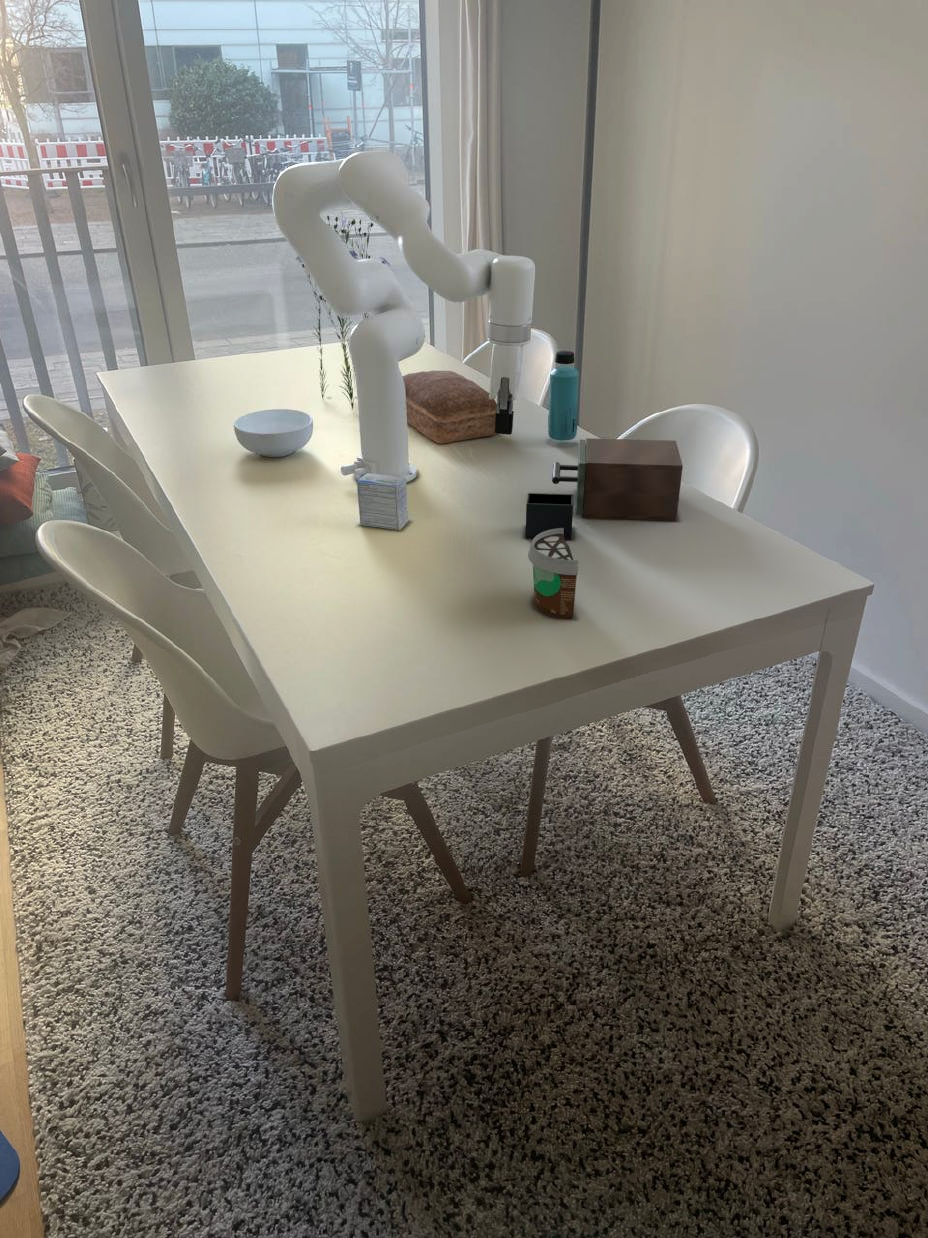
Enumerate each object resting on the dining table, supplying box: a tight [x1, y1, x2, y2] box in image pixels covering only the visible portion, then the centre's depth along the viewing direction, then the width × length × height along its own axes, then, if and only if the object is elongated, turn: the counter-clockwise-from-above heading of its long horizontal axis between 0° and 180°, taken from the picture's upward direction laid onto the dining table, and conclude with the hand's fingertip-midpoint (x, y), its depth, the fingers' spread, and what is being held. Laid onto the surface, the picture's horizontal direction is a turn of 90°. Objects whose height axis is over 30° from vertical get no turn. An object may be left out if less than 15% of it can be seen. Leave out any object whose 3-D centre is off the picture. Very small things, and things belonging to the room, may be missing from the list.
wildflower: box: [295, 212, 392, 411], centre depth 219 cm, size 22×23×45 cm
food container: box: [527, 528, 579, 620], centre depth 135 cm, size 12×6×10 cm, turn 5°
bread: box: [402, 370, 497, 444], centre depth 212 cm, size 17×29×11 cm, turn 26°
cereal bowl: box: [233, 408, 314, 458], centre depth 197 cm, size 17×17×7 cm
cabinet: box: [582, 437, 684, 522], centre depth 168 cm, size 17×14×11 cm
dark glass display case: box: [524, 492, 574, 541], centre depth 158 cm, size 8×5×6 cm, turn 84°
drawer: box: [551, 439, 586, 515], centre depth 168 cm, size 22×13×10 cm, turn 84°
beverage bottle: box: [547, 350, 580, 441], centre depth 197 cm, size 6×7×20 cm
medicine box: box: [356, 473, 409, 531], centre depth 162 cm, size 8×4×9 cm, turn 71°
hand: (503, 432), depth 168 cm, fingers closed
